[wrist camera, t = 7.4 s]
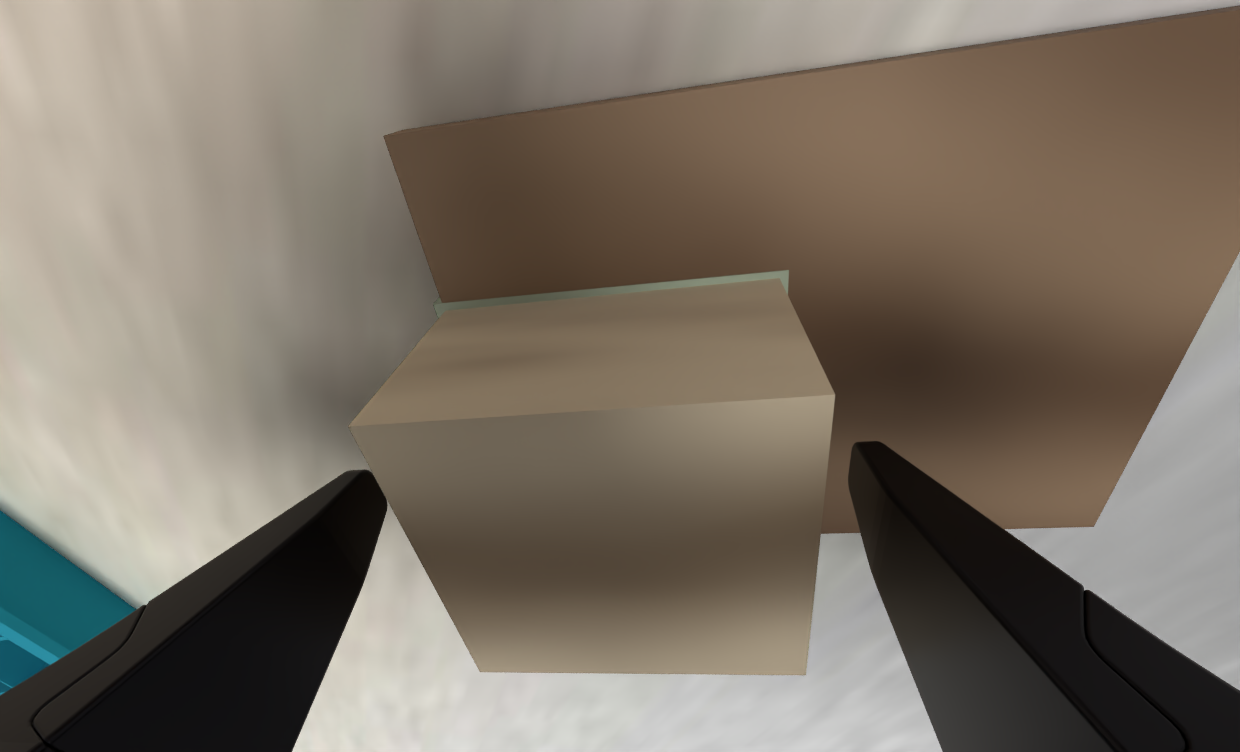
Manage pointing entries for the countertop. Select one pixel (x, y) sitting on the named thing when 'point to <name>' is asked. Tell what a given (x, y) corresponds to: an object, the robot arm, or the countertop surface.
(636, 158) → the board
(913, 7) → the countertop surface
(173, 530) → the countertop surface
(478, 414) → the beech block
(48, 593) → the ice cube tray
